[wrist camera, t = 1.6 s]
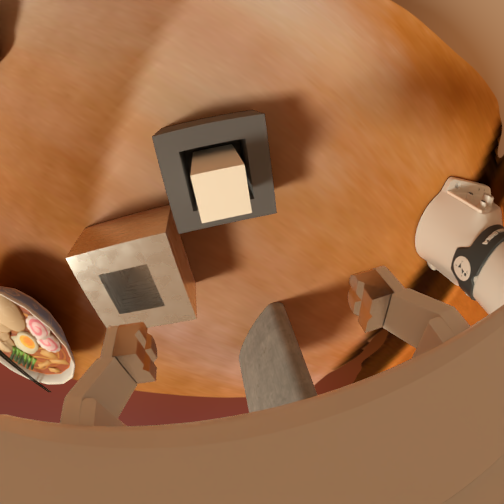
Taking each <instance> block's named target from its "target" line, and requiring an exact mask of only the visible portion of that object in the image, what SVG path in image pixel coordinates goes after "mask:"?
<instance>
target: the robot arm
mask: <svg viewBox="0 0 504 504" xmlns="http://www.w3.org/2000/svg"><path fill="white" fill-rule="evenodd" d="M493 200H494V197H493V196H491V190H490V187H488V186H487V185H485V184H481V183H477V182H473V181H469V180H465V179H460V178H456V177H449V178H448V179H447V181H446V182H445V184H444V186H443V188H442V190H441V191H440V193H439V194H438V195H437V196H436V197H435V198H434V199H433V200H432V201H431V202H430V204H429V205H428V206H427V208H426V209H425V211H424V213H423V215H422V217H421V219H420V221H419V224H418V227H417V231H416V237H415V246H416V250H417V253H418V254H419V256H420V257H422V258H423V259H425V260H426V261H427V263H428V265H429V267H430V268H431V269H432V270H436V269H437V270H438V271H440V272H441V273H442V274H443V275H444V276H446V277H447V278H448V279H449V280H451V281H452V282H453V283H454V284H456V285H459V286H460V287H461V289H462V290H463V291H464V292H465V294H466V295H467V296H469V297H470V298H471V299H472V300H476V301H477V302H478V303H479V304H480V305H481V306H482V307H483V308H484V309H485V311H486V312H487V313H488V314H489V315H488V316H486V317H485V318H483V319H482V320H480V321H479V322H477V323H476V324H474V325H472V326H471V327H470V325H469V324H468V323H467V322H466V320H465V319H464V318H463V317H462V316H461V314H460V313H459V312H458V311H457V310H456V309H455V307H453V306H450V305H448V304H445V303H443V302H441V301H438V300H436V299H433V298H431V297H429V296H426V295H424V294H421V293H419V292H416V291H414V290H411V289H409V288H408V289H405V288H404V287H403V286H402V285H401V283H400V282H399V281H398V280H397V279H396V278H395V277H394V275H393V274H392V273H391V272H390V271H389V270H388V269H387V268H386V267H385V266H380V267H377V268H374V269H371V270H367V271H364V272H360V273H357V274H353V275H351V277H350V280H349V284H350V285H351V288H350V290H349V291H348V303H349V306H350V309H351V310H352V312H353V313H354V314H356V315H358V316H359V318H358V322H359V324H360V325H361V327H362V328H363V330H364V332H365V333H366V332H369V331H372V330H375V329H378V328H381V327H383V328H384V329H386V330H388V331H389V332H391V333H392V334H394V335H396V336H397V337H399V338H400V339H402V340H404V341H405V342H407V343H408V344H410V345H412V346H413V347H415V348H416V351H415V353H414V355H413V357H412V359H410V360H408V361H406V362H404V363H402V364H399V365H397V366H395V367H393V368H390V369H388V370H386V371H383V372H381V373H379V374H376V375H374V376H371V377H369V378H366V379H364V380H361V381H358V382H356V383H353V384H350V385H348V386H345V387H342V388H339V389H336V390H333V391H330V392H327V393H324V394H321V395H317V396H314V397H311V398H307V399H304V400H300V401H297V402H293V403H289V404H286V405H282V406H278V407H274V408H269V409H265V410H261V411H256V412H251V413H246V414H241V415H236V416H230V417H225V418H218V419H212V420H204V421H197V422H189V423H179V424H167V425H153V426H152V425H151V426H126V425H125V424H124V423H122V422H121V421H120V420H119V419H118V417H119V415H120V414H121V412H122V410H123V408H124V407H125V405H126V403H127V401H128V400H129V398H130V396H131V394H132V393H133V391H134V389H135V388H136V386H137V384H138V383H145V382H153V381H156V369H157V367H156V366H155V364H154V361H155V360H156V359H157V348H156V344H155V341H154V339H153V337H152V336H151V335H150V334H148V333H147V327H146V325H145V323H144V322H137V323H130V324H123V325H118V326H109V327H108V328H107V330H106V334H105V339H104V343H103V347H102V352H101V356H100V359H97V360H96V361H95V362H94V363H93V364H92V365H91V367H90V368H89V369H88V370H87V371H86V372H85V374H84V375H83V376H82V377H81V378H80V379H79V381H78V382H77V383H76V384H75V386H74V387H73V388H72V389H71V390H70V392H69V393H68V394H67V396H65V399H64V404H63V409H62V414H61V420H60V423H51V422H44V421H37V420H31V419H25V418H19V417H14V416H10V415H4V414H2V415H0V504H504V227H503V224H502V212H501V209H500V207H499V206H498V205H496V204H495V203H494V202H493Z"/></svg>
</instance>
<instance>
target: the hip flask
mask: <svg viewBox="0 0 504 504" xmlns="http://www.w3.org/2000/svg"><path fill="white" fill-rule="evenodd" d="M239 362H240V367H241V373H242V378H243V383H244V388H245V393H246V398H247V403H248V408H249V413H251V412H256V411H261V410H265V409H269V408H274V407H278V406H282V405H286V404H289V403H293V402H297V401H300V400H304V399H307V398H311V397H314V396H317V393H316V390H315V387H314V385H313V382H312V379H311V376H310V374H309V371H308V368H307V366H306V363H305V360H304V358H303V355H302V352H301V350H300V347H299V344H298V342H297V339H296V337H295V334H294V331H293V329H292V326H291V323H290V321H289V318H288V315H287V313H286V310H285V308H284V305H283V304H282V303H279V302H275V303H271V304H269V305H268V306H267V307H266V308H265V309H264V311H263V312H262V313H261V314H260V316H259V317H258V318H257V320H256V321H255V323H254V324H253V326H252V328H251V329H250V331H249V333H248V335H247V337H246V339H245V341H244V343H243V345H242V348H241V351H240V355H239Z"/></svg>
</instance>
